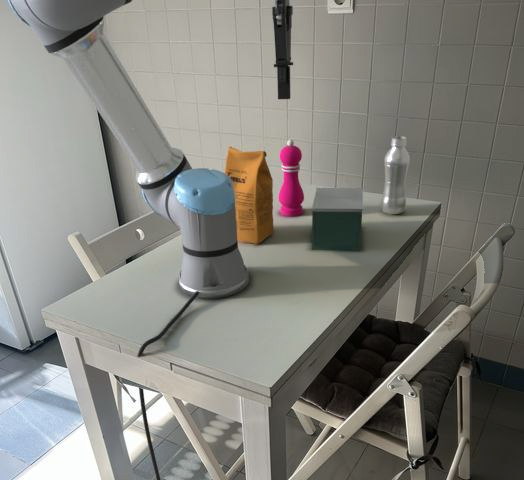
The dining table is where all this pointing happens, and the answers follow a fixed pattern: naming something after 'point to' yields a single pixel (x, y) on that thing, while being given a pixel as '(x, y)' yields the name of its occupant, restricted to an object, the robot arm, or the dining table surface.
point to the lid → (338, 200)
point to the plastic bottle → (395, 176)
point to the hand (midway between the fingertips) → (284, 98)
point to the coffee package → (251, 194)
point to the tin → (336, 230)
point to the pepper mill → (291, 181)
